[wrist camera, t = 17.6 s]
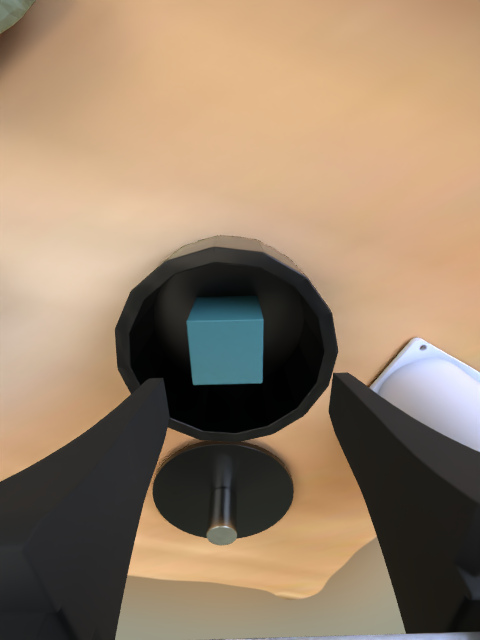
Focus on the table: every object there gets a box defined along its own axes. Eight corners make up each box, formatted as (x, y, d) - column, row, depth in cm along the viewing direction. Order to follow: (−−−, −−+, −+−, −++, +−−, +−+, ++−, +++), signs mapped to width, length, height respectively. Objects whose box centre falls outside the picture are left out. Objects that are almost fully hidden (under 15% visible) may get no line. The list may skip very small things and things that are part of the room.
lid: (317, 461, 27) (332, 510, 23) (254, 540, 32) (256, 593, 27) (184, 415, 24) (174, 459, 20) (137, 508, 29) (121, 560, 25)
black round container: (346, 290, 20) (382, 319, 15) (258, 412, 24) (264, 465, 19) (187, 199, 18) (169, 197, 13) (120, 351, 22) (86, 396, 17)
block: (258, 295, 20) (263, 319, 16) (257, 349, 22) (262, 383, 18) (196, 296, 20) (185, 321, 16) (200, 351, 22) (192, 385, 17)
